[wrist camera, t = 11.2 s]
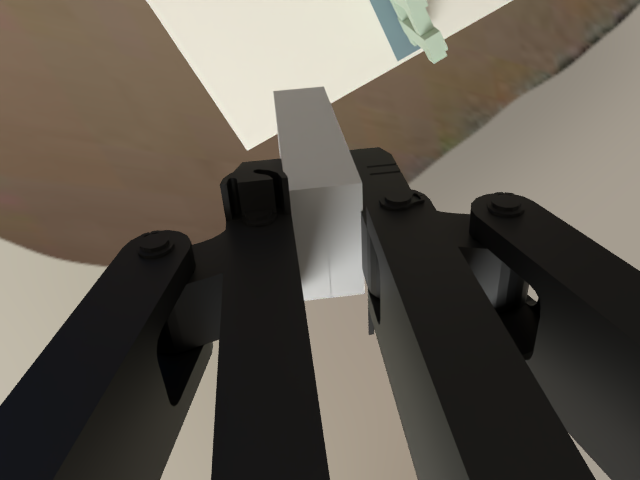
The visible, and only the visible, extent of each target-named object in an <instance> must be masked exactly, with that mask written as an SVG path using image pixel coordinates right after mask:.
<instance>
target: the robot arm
mask: <svg viewBox="0 0 640 480" xmlns="http://www.w3.org/2000/svg"><path fill="white" fill-rule="evenodd" d="M273 94H274V104H275V113H276V123H277V133H278V142H279V152H280V159H272V160H262V161H252V162H242V163H241V164H240V166H239V167H238V168H237V169H236V170H235V171H234V172H233V173H230V174H229V175H228V176H226V177H225V178H223V180H222V182H221V183H220V188H221V194H222V200H223V205H224V211H225V217H226V230H225V231H224V232H222V233H221V234H220V235H218V236H216V237H214V238H212V239H209V240H207V241H204V242H201V243H197V244H194V245H192V244H191V241H190V239H189V238H188V236H187V235H185V234H183V233H181V232H178V231H171V230H164V231H152V232H151V233H149V232H148V233H145V234H142V235H141V236H139V237H137V238H135V239H133V240H131V241H130V242H129V243H127V244H126V245H125V246H124V247H123V248H122V249H121V251H120V252H119V253H118V254H117V256H116V257H115V258H114V260H113V261H112V262H111V263H110V265H109V266H108V267H107V269H106V270H105V271H104V273H103V274H102V275H101V277H100V278H99V279H98V280H97V282H96V283H95V284H94V285H93V287H92V288H91V289H90V291H89V292H88V293H87V294H86V296H85V297H84V298H83V300H82V301H81V302H80V304H79V305H78V306H77V307H76V309H75V310H74V311H73V313H72V314H71V315H70V316H69V318H68V319H67V320H66V322H65V323H64V324H63V325H62V327H61V328H60V329H59V331H58V332H57V333H56V334H55V336H54V337H53V338H52V340H51V341H50V342H49V344H48V345H47V346H46V347H45V349H44V350H43V351H42V353H41V354H40V355H39V357H38V358H37V359H36V360H35V362H34V363H33V364H32V365H31V367H30V368H29V369H28V371H27V372H26V373H25V374H24V376H23V377H22V378H21V380H20V381H19V382H18V384H17V385H16V386H15V388H14V389H13V390H12V391H11V393H10V394H9V395H8V396H7V398H6V399H5V400H4V402H3V403H2V404H1V406H0V480H160V478H161V476H162V473H163V471H164V468H165V466H166V464H167V461H168V459H169V456H170V454H171V451H172V449H173V447H174V444H175V441H176V439H177V437H178V434H179V432H180V430H181V427H182V425H183V422H184V420H185V417H186V415H187V412H188V410H189V408H190V405H191V403H192V400H193V398H194V395H195V393H196V391H197V388H198V386H199V383H200V381H201V378H202V376H203V373H204V371H205V369H206V366H207V364H208V361H209V359H210V356H211V354H212V348H213V343H212V342H213V341H216V340H219V355H218V372H217V389H216V405H215V422H214V439H213V457H212V474H211V480H330V477H329V470H328V463H327V457H326V450H325V442H324V437H323V429H322V422H321V415H320V408H319V401H318V394H317V387H316V380H315V373H314V366H313V360H312V353H311V346H310V339H309V333H308V325H307V319H306V311H305V304H304V301H306V300H315V299H324V298H331V297H341V296H350V295H358V294H365V287H364V286H365V285H364V284H365V283H364V276H365V279H366V283H367V286H368V320H369V335H371V334H374V329H375V333H376V336H377V339H378V343H379V346H380V350H381V353H382V357H383V360H384V364H385V367H386V371H387V374H388V377H389V381H390V384H391V388H392V391H393V395H394V398H395V402H396V405H397V409H398V412H399V415H400V419H401V422H402V426H403V430H404V433H405V437H406V440H407V443H408V447H409V450H410V454H411V457H412V461H413V464H414V468H415V471H416V475H417V478H418V480H596V479H595V477H594V476H593V474H592V472H591V471H590V469H589V467H588V466H587V464H586V462H585V461H584V459H583V457H582V456H581V454H580V452H579V450H578V449H577V447H576V445H575V444H574V442H573V440H572V439H571V437H570V435H571V436H572V437H573V438H574V440H575V441H576V442H577V443H578V444H579V445H580V446H581V447H582V448H583V449H584V450H585V452H586V453H587V454H588V455H589V456H590V457H591V458H592V459H593V460H594V461H595V462H596V463H597V465H598V466H599V467H600V468H601V469H602V470H603V471H604V472H605V473H606V474H607V475H608V477H609V478H610V479H611V480H640V271H639V270H637V269H636V268H634V267H633V266H631V265H630V264H628V263H627V262H625V261H624V260H622V259H620V258H619V257H617V256H616V255H614V254H613V253H611V252H610V251H608V250H607V249H605V248H604V247H602V246H601V245H599V244H598V243H596V242H595V241H593V240H592V239H590V238H589V237H587V236H586V235H584V234H583V233H581V232H579V231H578V230H576V229H575V228H573V227H572V226H570V225H568V224H567V223H566V222H564V221H563V220H561V219H560V218H558V217H556V216H555V215H554V214H552V213H551V212H549V211H547V210H546V209H544V208H543V207H541V206H540V205H538V204H537V203H535V202H534V201H531V200H530V199H527V198H525V197H523V196H519V195H514V194H513V193H503V192H497V193H494V194H487V195H483V196H481V197H478V198H476V199H475V200H474V201H473V202H472V203H471V213H470V214H456V213H446V212H440V211H436V209H435V207H434V206H433V204H432V202H431V201H430V199H429V198H428V197H427V196H426V195H425V194H422V193H420V192H418V191H416V190H411V189H410V187H409V185H408V184H407V182H406V180H405V178H404V176H403V174H402V173H401V172H400V169H399V167H398V165H396V162H395V160H394V158H393V156H392V155H391V154H390V153H388V152H386V151H385V150H383V149H381V148H379V147H377V148H367V149H357V150H349V148H348V146H347V143H346V141H345V138H344V136H343V133H342V131H341V128H340V126H339V123H338V121H337V118H336V116H335V113H334V111H333V108H332V106H331V103H330V101H329V98H328V96H327V93H326V91H325V88H324V86H323V87H312V88H301V89H290V90H279V91H273ZM529 285H531V287H532V288H533V289H534V290H535V291H536V293H537V295H538V297H539V298H538V301H537V302H536V301H534V300H533V299H532V298H531V297H530V296H529V295H527V293H528V287H529ZM568 433H569V434H570V435H569V434H568Z"/></svg>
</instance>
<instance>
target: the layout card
mask: <svg viewBox="0 0 640 480" xmlns="http://www.w3.org/2000/svg"><path fill="white" fill-rule="evenodd" d="M146 1H147V2H148V4H149V5H150V6H151V8H152V9H153V11H154V12H155V14H156V15H157V17H158V18H159V20H160V21H161V23H162V24H163V26H164V27H165V29H166V30H167V32H168V33H169V35H170V36H171V38H172V39H173V41H174V42H175V44H176V45H177V47H178V48H179V50H180V51H181V53H182V54H183V56H184V57H185V59H186V60H187V62H188V63H189V65H190V66H191V68H192V69H193V71H194V72H195V74H196V75H197V77H198V78H199V79H200V81H201V82H202V84H203V85H204V87H205V88H206V90H207V91H208V93H209V94H210V96H211V97H212V99H213V100H214V102H215V103H216V105H217V106H218V108H219V109H220V111H221V112H222V114H223V115H224V117H225V118H226V120H227V121H228V123H229V124H230V126H231V127H232V129H233V130H234V132H235V133H236V135H237V136H238V138H239V139H240V141H241V142H242V144H243V145H244V147H245V148H246V149H247V151H248V150H249V149H251V148H253V147H255V146H257V145H258V144H260V143H262V142H264V141H265V140H267V139H269V138H271V137H272V136H274V135H276V134H278V133H277V123H276V113H275V104H274V94H273V91H279V90H290V89H301V88H312V87H323V86H324V88H325V91H326V93H327V96H328V98H329V101H330V103H332V102H334V101H336V100H338V99H340V98H341V97H343V96H345V95H347V94H348V93H350V92H352V91H354V90H355V89H357V88H359V87H361V86H362V85H364V84H366V83H368V82H370V81H371V80H373V79H375V78H377V77H378V76H380V75H382V74H384V73H385V72H387V71H389V70H391V69H393V68H394V67H396V66H398V65H400V64H401V63H403V62H405V61H407V60H408V59H410V58H412V57H414V56H415V55H417V54H419V53H421V52H423V51H424V50H423V49H422V48H421V47H419V46H418V45H417V46H414V45H413V44H411V43H410V41H409V39H408V37H407V35H406V34H405V33H404V31H403V29H402V27H401V25H400V23H399V21H398V19H397V18H398V16H397V14H396V12H395V10H394V8H393V6H392V4H391V2H390V0H146ZM426 1H427V3H428V5H429V6H427V7H425V8H426V11H427V13H428V15H429V17H430V19H431V22H432V24H433V26H434V27H435V28H437V29H438V30H439V31H440V32H441V34H442V36H443V38H444V39H445V38H447V37H449V36H451V35H453V34H454V33H456V32H458V31H460V30H461V29H463V28H465V27H467V26H468V25H470V24H472V23H474V22H475V21H477V20H479V19H481V18H483V17H484V16H486V15H488V14H490V13H491V12H493V11H495V10H497V9H498V8H500V7H502V6H504V5H506V4H507V3H509V2H511V1H513V0H426Z"/></svg>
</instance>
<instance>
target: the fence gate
mask: <svg viewBox="0 0 640 480" xmlns="http://www.w3.org/2000/svg"><path fill="white" fill-rule="evenodd" d="M390 2H391V4H392V6H393V8H394V10H395V12H396V14H397V16H398V18H397V19H398V21H399V23H400V25H401V27H402V29H403V31H404V33H405V34H406V35H407V37H408V39H409V41H410V43H411V44H413V45H414V46H417V45H418V46H419V47H421V48H422V49H423V50H424V51H425V53H426V55H427V57H428V59H429V60H430V61H431V62H432V63H433V64H435V63H436V62H438V61H440V60H441V59H443V58H444V57H446V56H447V54H446V52H445V51H446V50H448V47H447V45H446V43H445V41H444V38H443V36H442V34H441V32H440V31H439V30H438V29H437V28H435V27H434V26H433V24H432V22H431V19H430V17H429V15H428V13H427V11H426V8H425V7H427V6H429V5H428V3H427V1H426V0H390Z"/></svg>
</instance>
